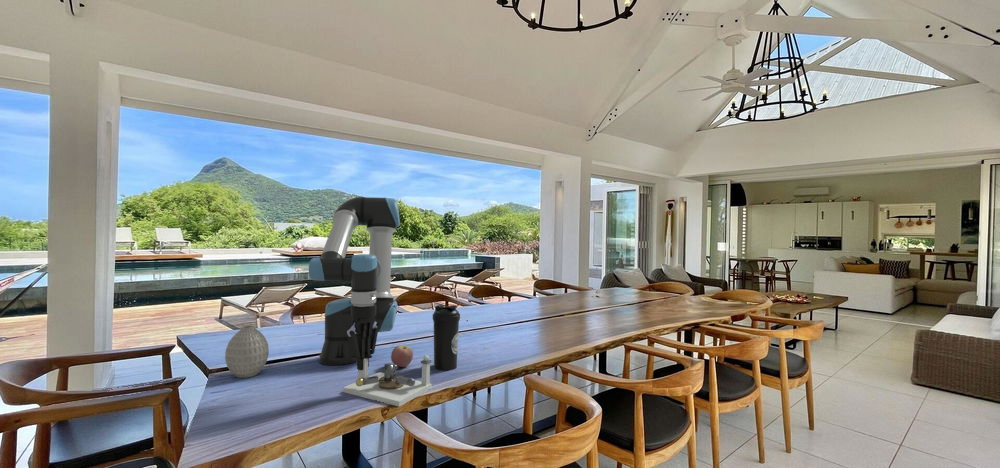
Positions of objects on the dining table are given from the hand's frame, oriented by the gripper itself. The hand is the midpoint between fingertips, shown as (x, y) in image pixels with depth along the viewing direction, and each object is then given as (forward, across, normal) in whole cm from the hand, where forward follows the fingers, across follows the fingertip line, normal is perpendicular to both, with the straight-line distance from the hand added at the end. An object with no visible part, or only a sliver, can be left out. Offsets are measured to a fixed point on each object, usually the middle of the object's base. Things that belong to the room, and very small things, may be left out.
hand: (362, 379), depth 131 cm
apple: (+5, +25, +5) cm, 26 cm away
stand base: (+4, +5, -6) cm, 9 cm away
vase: (+5, -8, +45) cm, 46 cm away
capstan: (+2, +3, -5) cm, 6 cm away
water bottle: (+5, +33, -9) cm, 35 cm away
